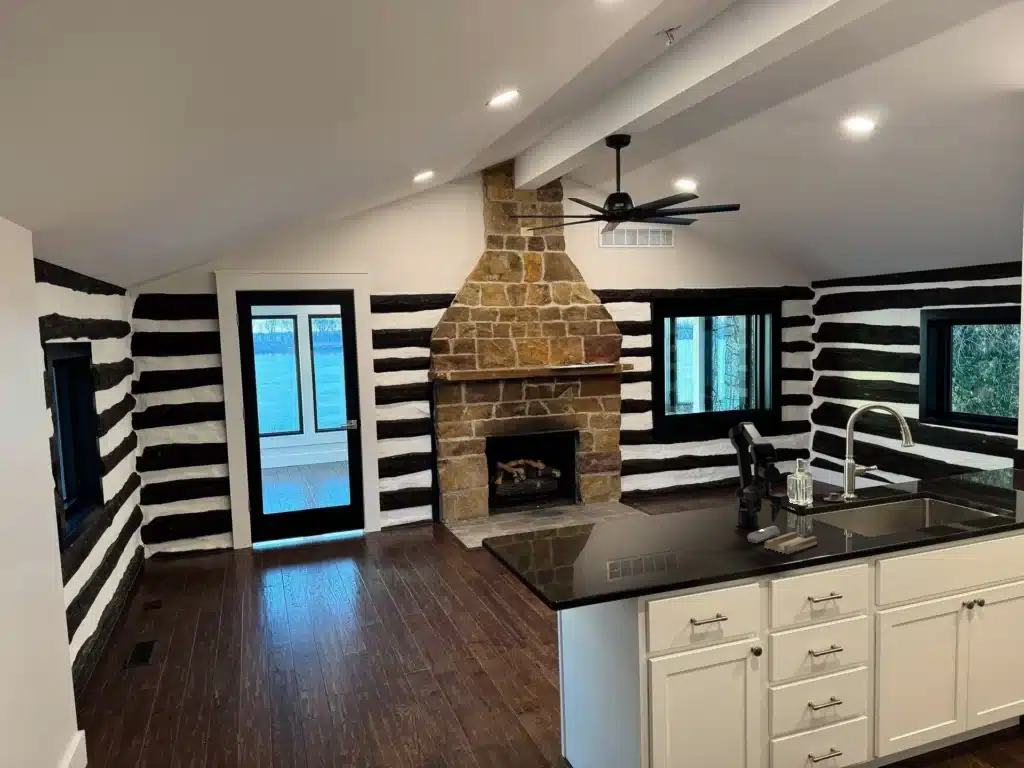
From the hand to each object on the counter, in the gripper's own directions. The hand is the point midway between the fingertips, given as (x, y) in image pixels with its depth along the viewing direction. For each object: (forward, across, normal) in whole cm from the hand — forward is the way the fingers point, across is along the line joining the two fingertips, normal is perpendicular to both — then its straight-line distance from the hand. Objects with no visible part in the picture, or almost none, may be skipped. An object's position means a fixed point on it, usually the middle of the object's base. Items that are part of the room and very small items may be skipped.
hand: (761, 519), depth 265 cm
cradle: (+7, +12, 0) cm, 14 cm away
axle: (+8, 0, 0) cm, 8 cm away
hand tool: (+8, -18, +45) cm, 49 cm away
